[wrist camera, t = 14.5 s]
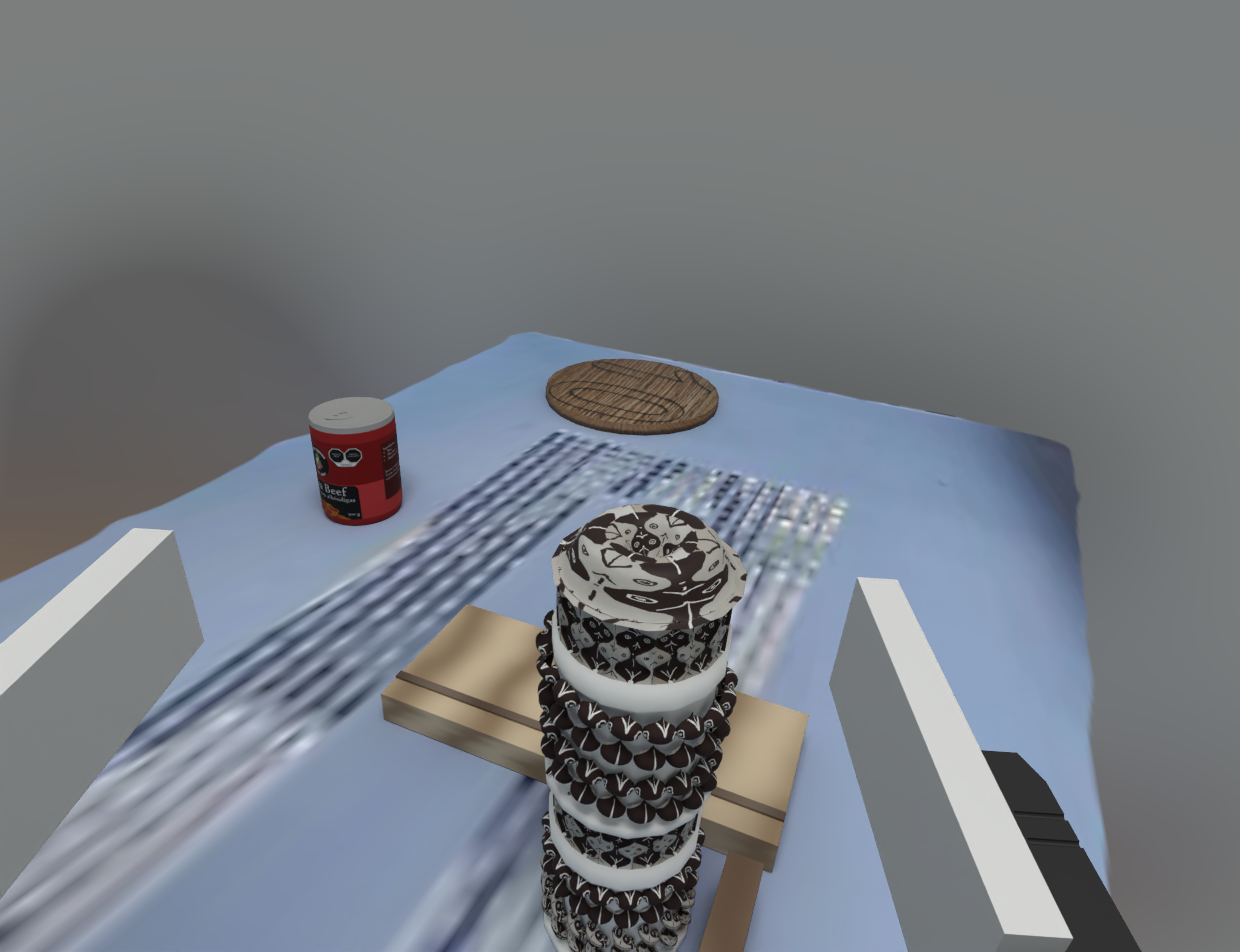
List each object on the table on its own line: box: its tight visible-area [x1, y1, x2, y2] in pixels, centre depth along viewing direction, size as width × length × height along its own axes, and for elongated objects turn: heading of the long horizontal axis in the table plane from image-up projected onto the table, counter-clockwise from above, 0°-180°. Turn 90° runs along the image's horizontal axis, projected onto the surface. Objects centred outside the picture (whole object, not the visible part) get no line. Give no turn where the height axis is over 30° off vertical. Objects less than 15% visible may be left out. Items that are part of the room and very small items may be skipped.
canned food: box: [309, 397, 402, 525], centre depth 74 cm, size 8×8×11 cm
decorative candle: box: [535, 504, 747, 952], centre depth 36 cm, size 9×9×25 cm
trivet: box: [546, 359, 719, 435], centre depth 107 cm, size 25×25×2 cm
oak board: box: [381, 604, 809, 873], centre depth 52 cm, size 28×11×3 cm, turn 68°
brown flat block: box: [699, 850, 764, 952], centre depth 39 cm, size 2×6×4 cm, turn 158°
